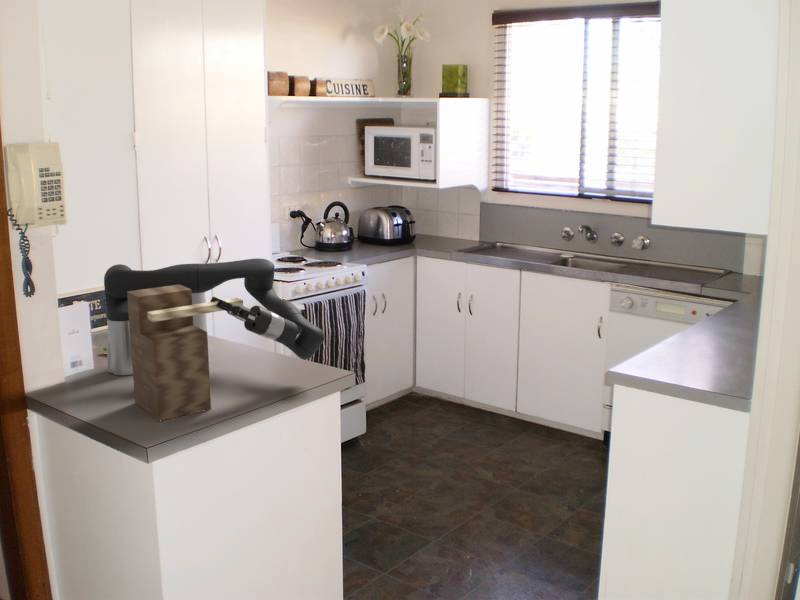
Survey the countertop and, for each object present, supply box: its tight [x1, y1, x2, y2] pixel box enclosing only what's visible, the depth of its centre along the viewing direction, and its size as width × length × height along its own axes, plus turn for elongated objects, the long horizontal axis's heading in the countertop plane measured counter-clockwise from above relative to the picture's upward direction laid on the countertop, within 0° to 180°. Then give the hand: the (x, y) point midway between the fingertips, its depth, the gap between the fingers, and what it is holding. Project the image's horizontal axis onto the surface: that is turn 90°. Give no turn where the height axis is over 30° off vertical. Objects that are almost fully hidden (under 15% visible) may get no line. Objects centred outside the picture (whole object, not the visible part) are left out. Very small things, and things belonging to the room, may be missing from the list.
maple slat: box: [147, 297, 244, 322], centre depth 231 cm, size 26×4×2 cm, turn 127°
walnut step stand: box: [127, 284, 212, 422], centre depth 232 cm, size 15×17×32 cm
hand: (215, 301), depth 233 cm, fingers closed on maple slat, 3 cm apart
